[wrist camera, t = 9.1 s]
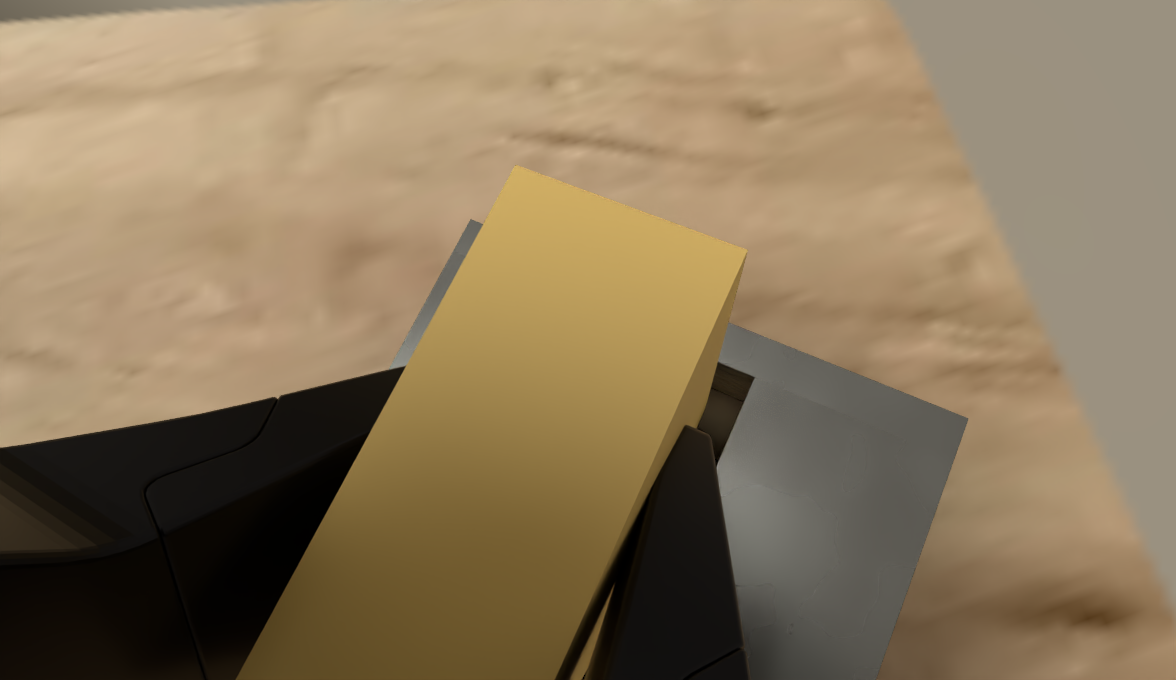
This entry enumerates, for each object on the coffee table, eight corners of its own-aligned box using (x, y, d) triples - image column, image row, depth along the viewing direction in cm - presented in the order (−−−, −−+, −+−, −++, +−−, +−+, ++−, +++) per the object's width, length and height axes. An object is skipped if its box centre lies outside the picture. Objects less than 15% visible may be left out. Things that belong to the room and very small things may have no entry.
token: (603, 640, 14) (440, 936, 4) (512, 588, 15) (196, 751, 5) (705, 409, 15) (747, 250, 6) (615, 369, 16) (516, 165, 6)
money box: (737, 864, 15) (759, 1006, 11) (340, 613, 18) (236, 647, 14) (897, 438, 17) (968, 418, 13) (514, 277, 21) (470, 219, 16)
